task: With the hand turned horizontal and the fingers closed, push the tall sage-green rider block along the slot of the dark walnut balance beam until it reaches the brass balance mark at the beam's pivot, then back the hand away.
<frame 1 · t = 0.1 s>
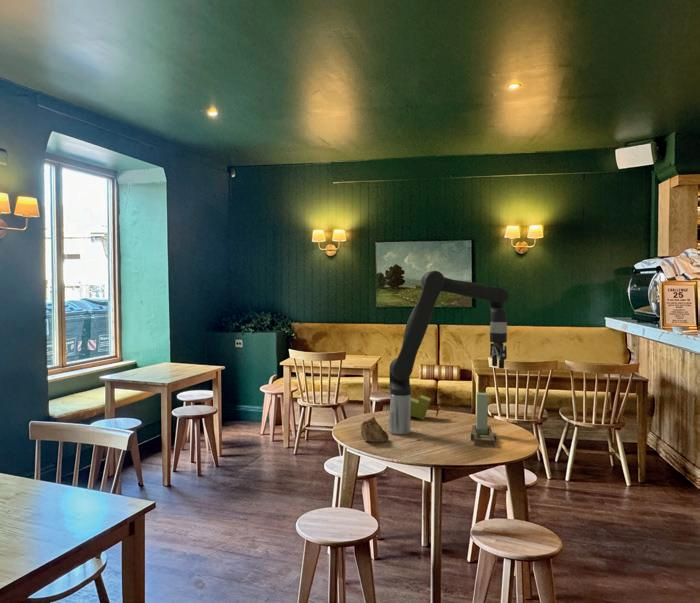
hand: (497, 367, 231), 29 cm above the table, tool pointing down, fingers open, 8 cm apart
decorative rock: (373, 442, 213), on the table
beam: (482, 438, 218), on the table
toy: (418, 418, 256), on the table
rider: (481, 412, 226), point 9 cm above the table, slide at 0.0 cm
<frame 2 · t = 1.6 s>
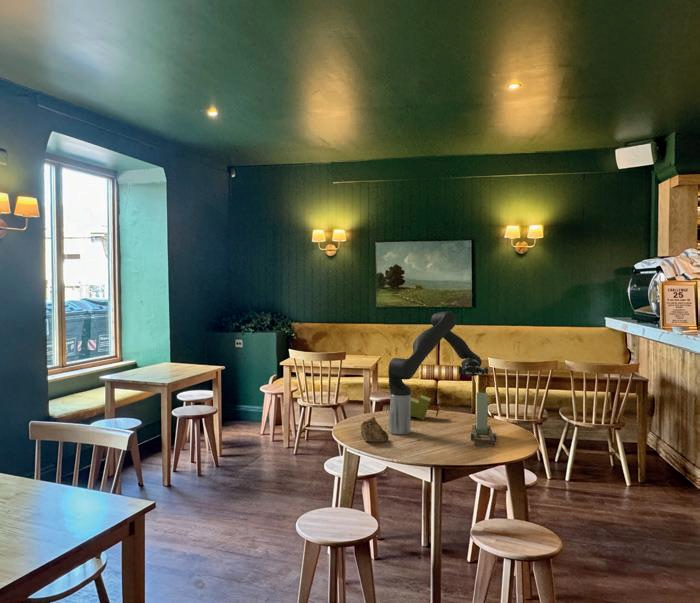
hand: (473, 372, 236), 26 cm above the table, tool horizontal, fingers open, 7 cm apart
nothing on the table moved.
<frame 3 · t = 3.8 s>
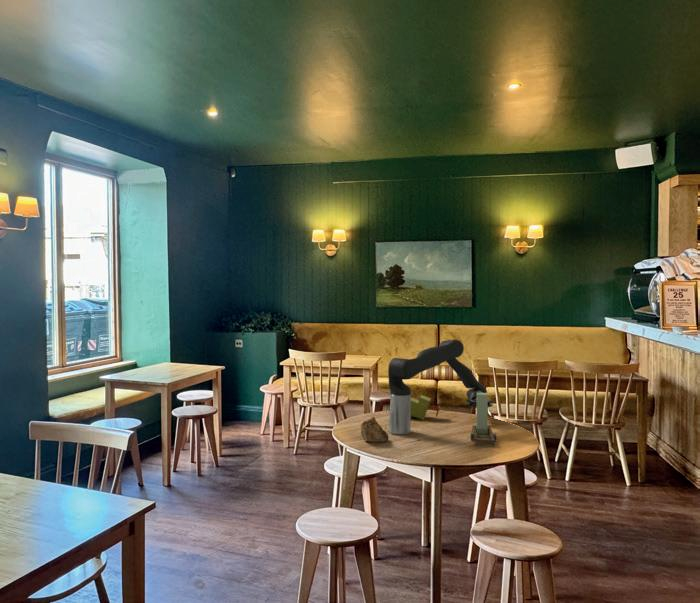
hand: (480, 407, 236), 10 cm above the table, tool horizontal, fingers closed
nothing on the table moved.
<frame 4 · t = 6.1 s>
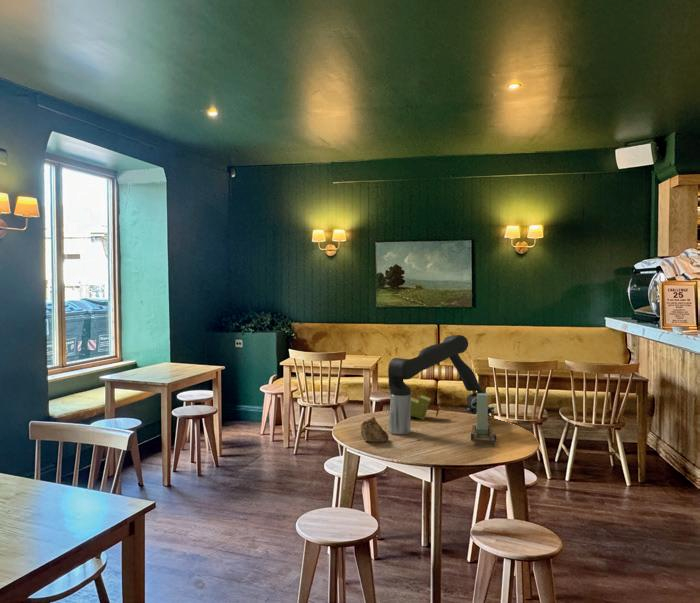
hand: (481, 413, 227), 9 cm above the table, tool horizontal, fingers closed
rider: (482, 413, 225), point 9 cm above the table, slide at 1.3 cm, touching gripper
everything else where it was.
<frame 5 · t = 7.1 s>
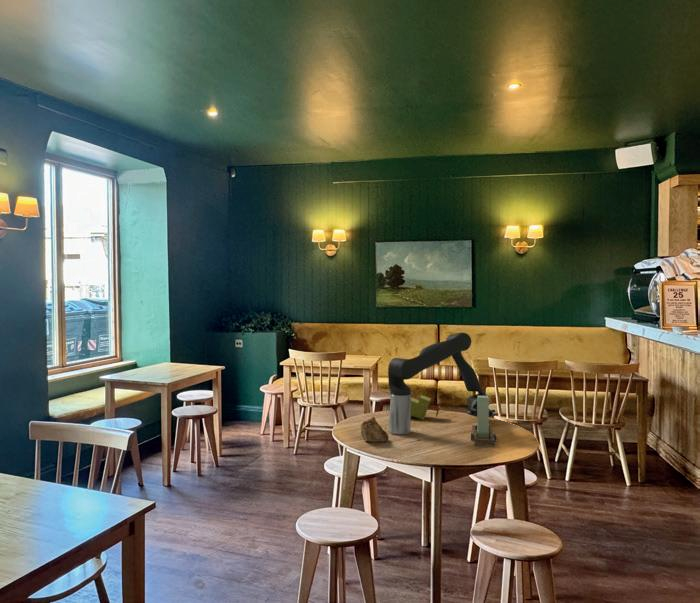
hand: (482, 416, 221), 9 cm above the table, tool horizontal, fingers closed
rider: (482, 416, 219), point 9 cm above the table, slide at 7.1 cm, touching gripper
everything else where it was.
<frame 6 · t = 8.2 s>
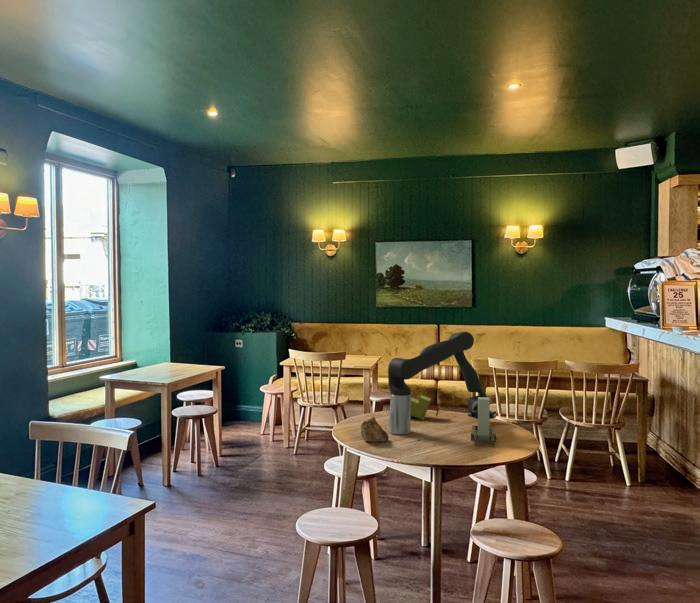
hand: (483, 418, 217), 9 cm above the table, tool horizontal, fingers closed
rider: (483, 418, 215), point 9 cm above the table, slide at 11.0 cm, touching gripper
everything else where it was.
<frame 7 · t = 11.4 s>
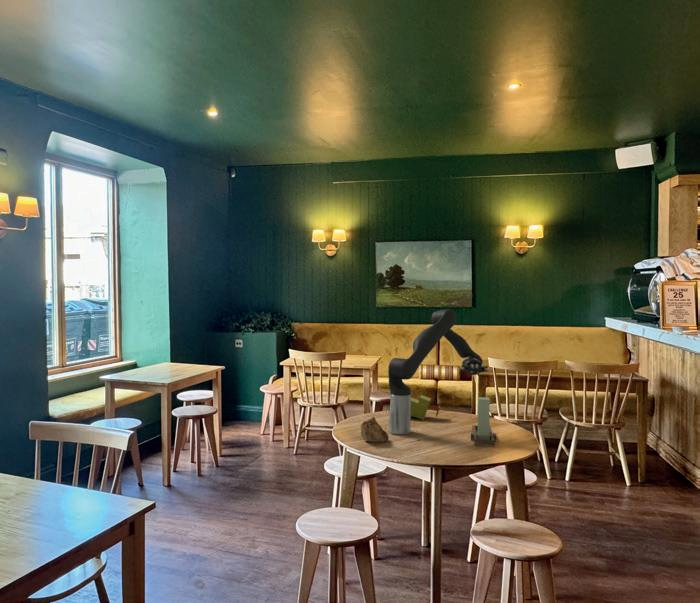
hand: (475, 370, 233), 27 cm above the table, tool horizontal, fingers closed
rider: (483, 418, 215), point 9 cm above the table, slide at 11.1 cm
everything else where it was.
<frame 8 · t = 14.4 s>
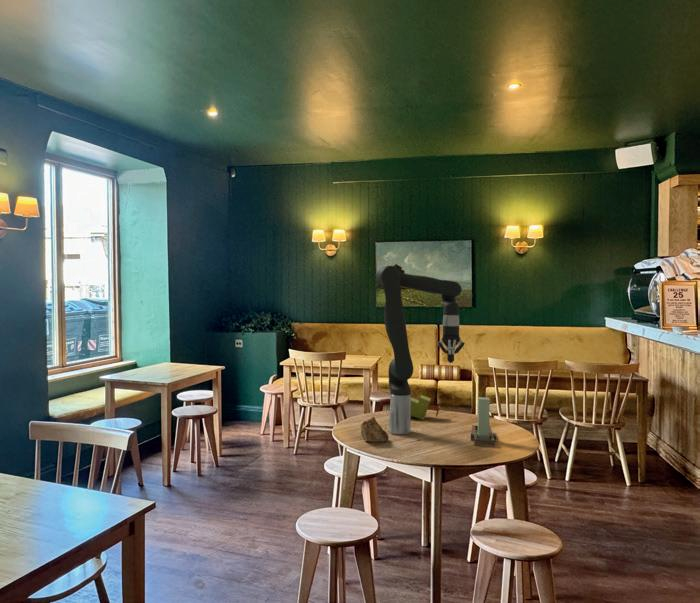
hand: (450, 362, 234), 31 cm above the table, tool pointing down, fingers closed
nothing on the table moved.
at the end: rider slide at 11.1 cm; rider inside the target area (0.0 cm from its centre), resting on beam; the gripper is holding nothing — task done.
